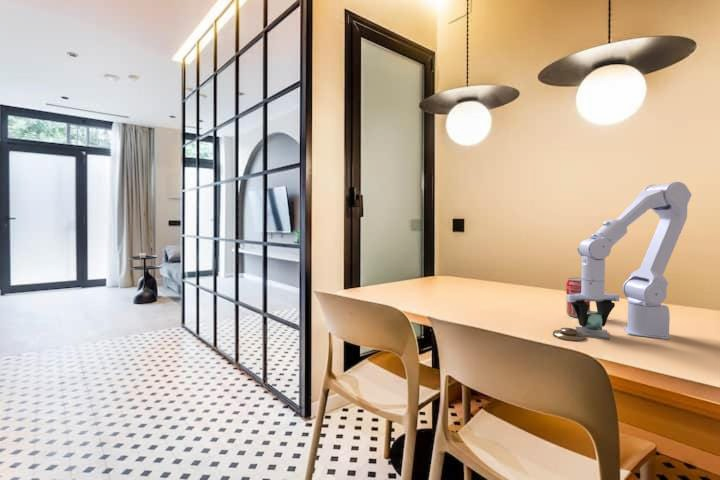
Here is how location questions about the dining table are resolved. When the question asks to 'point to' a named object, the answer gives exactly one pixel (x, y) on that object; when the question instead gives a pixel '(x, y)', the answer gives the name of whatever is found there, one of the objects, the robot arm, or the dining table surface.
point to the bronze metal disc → (568, 334)
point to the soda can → (573, 288)
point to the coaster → (593, 333)
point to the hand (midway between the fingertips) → (591, 325)
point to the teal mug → (594, 321)
